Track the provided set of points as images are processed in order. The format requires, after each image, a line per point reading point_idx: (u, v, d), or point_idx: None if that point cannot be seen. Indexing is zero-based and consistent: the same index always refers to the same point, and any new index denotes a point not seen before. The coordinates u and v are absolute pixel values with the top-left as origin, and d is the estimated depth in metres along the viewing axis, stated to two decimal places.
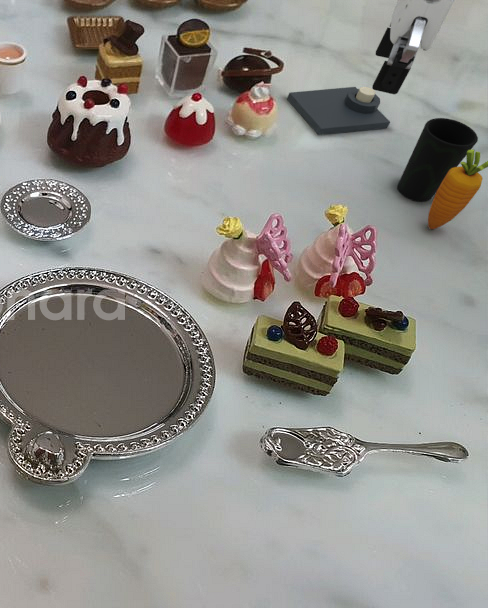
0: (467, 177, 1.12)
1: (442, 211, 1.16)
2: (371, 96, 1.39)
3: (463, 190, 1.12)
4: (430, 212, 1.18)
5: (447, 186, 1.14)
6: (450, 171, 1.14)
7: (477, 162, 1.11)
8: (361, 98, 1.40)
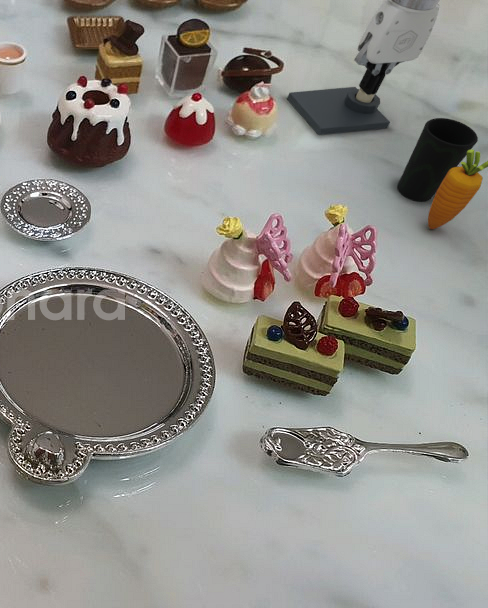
0: (467, 177, 1.12)
1: (442, 211, 1.16)
2: (371, 96, 1.39)
3: (463, 190, 1.12)
4: (430, 212, 1.18)
5: (447, 186, 1.14)
6: (450, 171, 1.14)
7: (477, 162, 1.11)
8: (361, 98, 1.40)
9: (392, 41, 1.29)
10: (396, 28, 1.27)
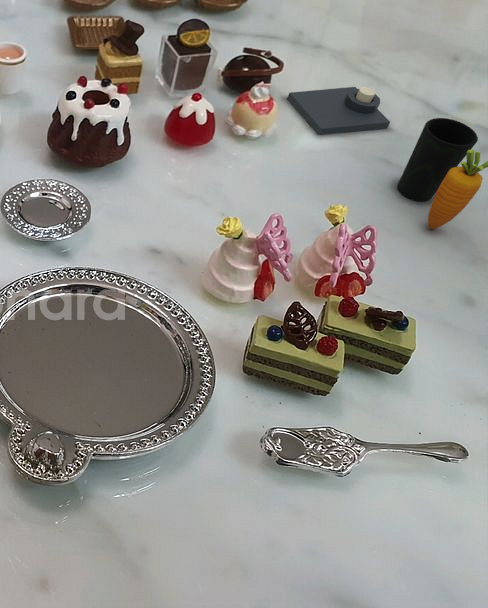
0: (467, 177, 1.12)
1: (442, 211, 1.16)
2: (371, 96, 1.39)
3: (463, 190, 1.12)
4: (430, 212, 1.18)
5: (447, 186, 1.14)
6: (450, 171, 1.14)
7: (477, 162, 1.11)
8: (361, 98, 1.40)
9: None
10: None
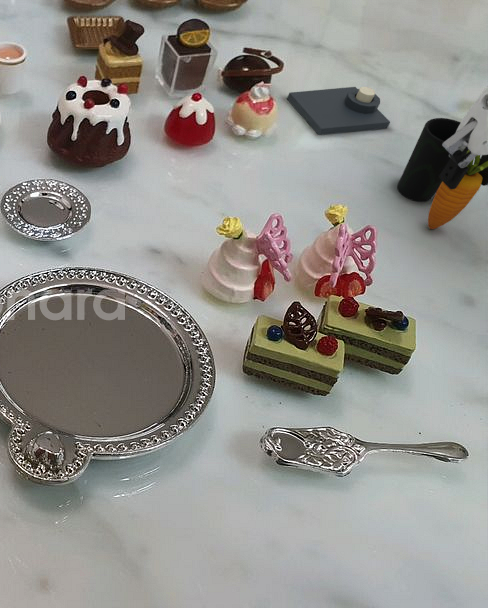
0: (467, 177, 1.12)
1: (442, 211, 1.16)
2: (371, 96, 1.39)
3: (463, 190, 1.12)
4: (430, 212, 1.18)
5: (447, 186, 1.14)
6: None
7: (477, 162, 1.11)
8: (361, 98, 1.40)
9: None
10: None
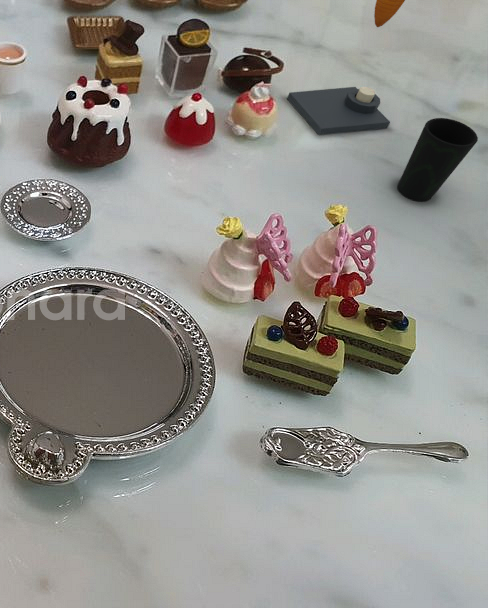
0: None
1: (387, 1, 1.21)
2: (371, 96, 1.39)
3: None
4: (376, 7, 1.23)
5: None
6: None
7: None
8: (361, 98, 1.40)
9: None
10: None
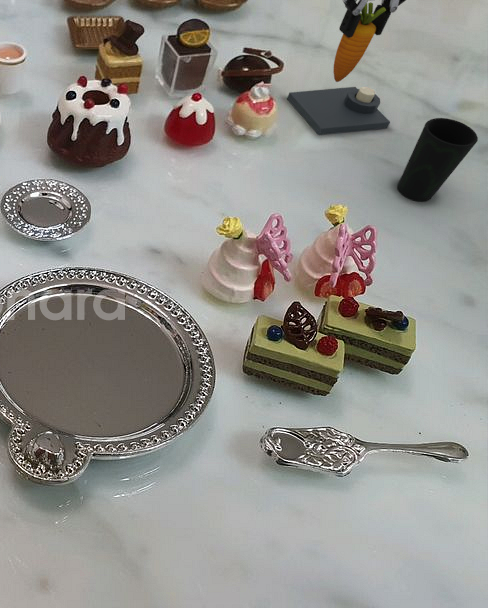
0: (361, 26, 1.28)
1: (344, 60, 1.32)
2: (371, 96, 1.39)
3: (359, 38, 1.28)
4: (334, 64, 1.34)
5: None
6: None
7: (370, 12, 1.27)
8: (361, 98, 1.40)
9: None
10: None
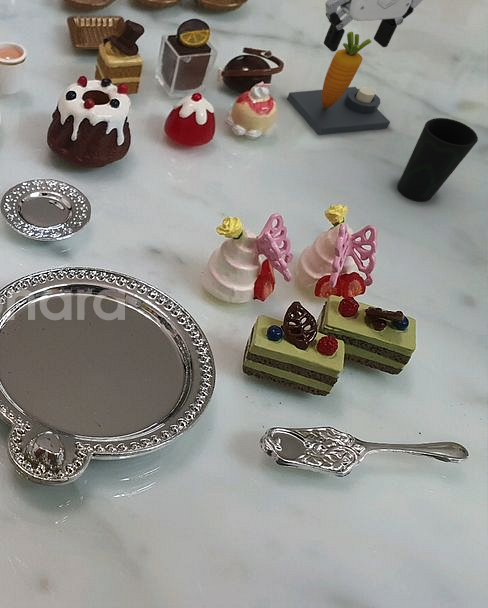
0: (348, 56, 1.32)
1: (331, 89, 1.36)
2: (371, 96, 1.39)
3: (345, 68, 1.32)
4: (322, 92, 1.38)
5: (333, 66, 1.34)
6: (336, 53, 1.34)
7: (356, 43, 1.31)
8: (361, 98, 1.40)
9: None
10: None
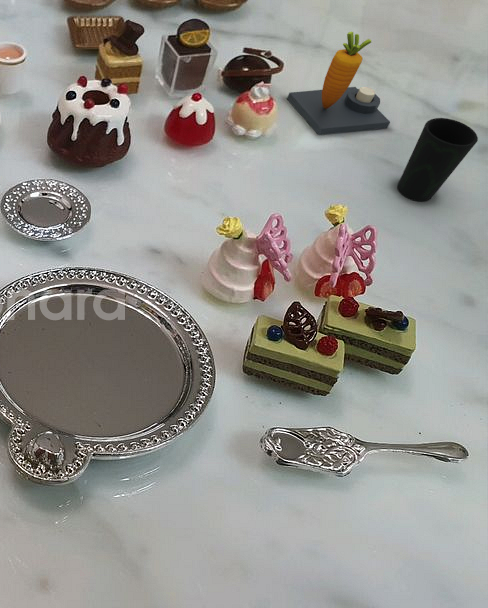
0: (348, 56, 1.32)
1: (331, 89, 1.36)
2: (371, 96, 1.39)
3: (345, 68, 1.32)
4: (322, 92, 1.38)
5: (333, 66, 1.34)
6: (336, 53, 1.34)
7: (356, 43, 1.31)
8: (361, 98, 1.40)
9: None
10: None
